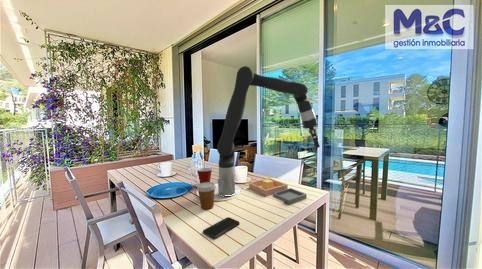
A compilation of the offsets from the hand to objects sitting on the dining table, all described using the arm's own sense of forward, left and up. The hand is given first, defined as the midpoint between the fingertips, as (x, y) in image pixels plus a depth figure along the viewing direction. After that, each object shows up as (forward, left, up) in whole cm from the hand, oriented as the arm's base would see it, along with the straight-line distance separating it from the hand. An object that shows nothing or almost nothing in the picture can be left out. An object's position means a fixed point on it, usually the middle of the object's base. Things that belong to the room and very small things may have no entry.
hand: (317, 145), depth 116 cm
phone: (-62, +1, -29) cm, 68 cm away
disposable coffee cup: (-59, +23, -29) cm, 69 cm away
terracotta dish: (-18, +23, -29) cm, 40 cm away
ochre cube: (-18, +23, -28) cm, 40 cm away
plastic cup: (-47, +54, -29) cm, 77 cm away
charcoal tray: (-16, +6, -29) cm, 33 cm away
